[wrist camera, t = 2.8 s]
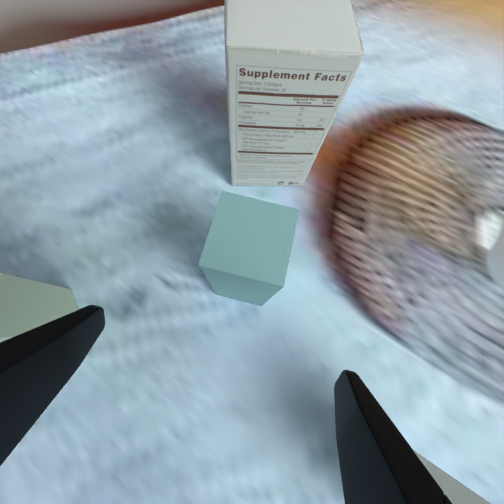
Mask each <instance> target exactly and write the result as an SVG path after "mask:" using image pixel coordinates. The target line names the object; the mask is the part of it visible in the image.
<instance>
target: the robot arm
mask: <svg viewBox="0 0 504 504" xmlns="http://www.w3.org/2000/svg"><path fill="white" fill-rule="evenodd" d="M104 326H105V317H104V309H103V308H102V307H99V306H96V305H89V306H86V307H84V308H82V309H79V310H77V311H74V312H72V313H70V314H67V315H65V316H62V317H60V318H58V319H55V320H53V321H50V322H48V323H46V324H43V325H41V326H38V327H36V328H34V329H31V330H29V331H26V332H24V333H22V334H19V335H17V336H14V337H12V338H10V339H7V340H5V341H2V342H0V466H1V465H2V463H3V462H4V461H5V460H6V458H7V457H8V456H9V454H10V453H11V452H12V451H13V449H14V448H15V447H16V446H17V444H18V443H19V442H20V441H21V439H22V438H23V437H24V436H25V434H26V433H27V432H28V431H29V429H30V428H31V427H32V426H33V424H34V423H35V422H36V421H37V419H38V418H39V417H40V415H41V414H42V413H43V412H44V410H45V409H46V408H47V407H48V405H49V404H50V403H51V402H52V400H53V399H54V398H55V397H56V395H57V394H58V393H59V392H60V390H61V389H62V388H63V387H64V385H65V384H66V383H67V382H68V380H69V379H70V378H71V376H72V375H73V374H74V373H75V371H76V370H77V369H78V367H79V366H80V364H81V363H82V361H83V360H84V358H85V357H86V355H87V354H88V352H89V351H90V349H91V348H92V346H93V344H94V343H95V341H96V340H97V338H98V337H99V335H100V334H101V332H102V331H103V329H104ZM334 397H335V424H336V439H337V447H338V455H339V462H340V470H341V477H342V484H343V492H344V499H345V504H452V502H451V501H450V500H449V498H448V497H447V496H446V495H445V494H444V492H443V490H442V489H441V488H440V486H439V485H438V483H437V482H436V481H435V479H434V478H433V477H432V475H431V474H430V473H429V471H428V470H427V468H426V467H425V466H424V464H423V463H422V462H421V460H420V459H419V458H418V456H417V455H416V453H415V452H414V451H413V449H412V448H411V447H410V445H409V444H408V443H407V441H406V440H405V438H404V437H403V436H402V434H401V433H400V432H399V430H398V429H397V428H396V426H395V425H394V424H393V422H392V421H391V419H390V418H389V417H388V415H387V414H386V413H385V411H384V410H383V409H382V407H381V406H380V404H379V403H378V402H377V400H376V399H375V398H374V396H373V395H372V394H371V392H370V391H369V389H368V388H367V387H366V385H365V384H364V383H363V381H362V380H361V379H360V377H359V376H358V375H357V374H356V373H355V372H353V371H349V370H343V371H342V373H341V375H340V376H339V378H338V380H337V381H336V383H335V387H334Z"/></svg>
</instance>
